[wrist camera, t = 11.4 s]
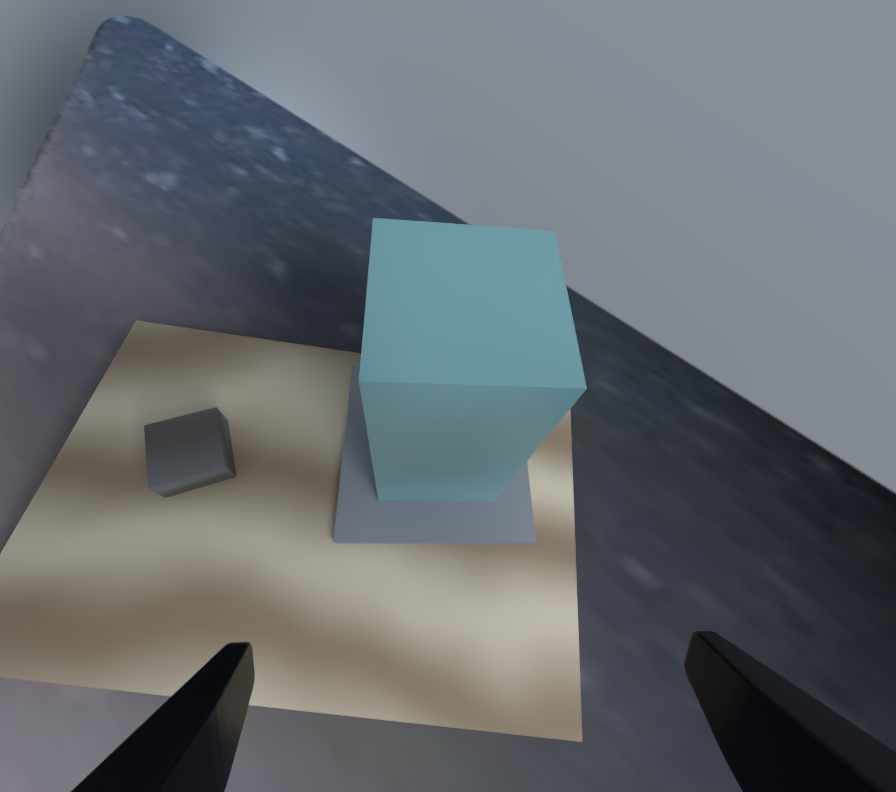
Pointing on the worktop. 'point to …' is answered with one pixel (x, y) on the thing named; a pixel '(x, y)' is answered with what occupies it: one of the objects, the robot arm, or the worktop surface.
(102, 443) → the board
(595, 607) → the worktop surface
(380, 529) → the coaster
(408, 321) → the tall teal block
